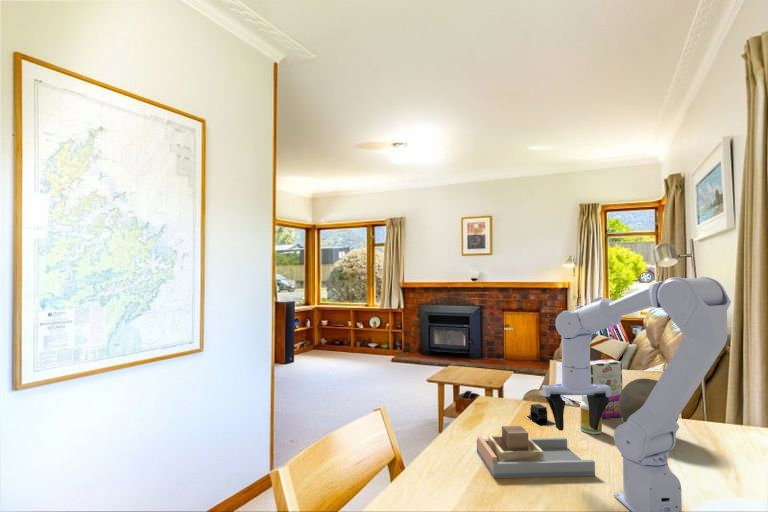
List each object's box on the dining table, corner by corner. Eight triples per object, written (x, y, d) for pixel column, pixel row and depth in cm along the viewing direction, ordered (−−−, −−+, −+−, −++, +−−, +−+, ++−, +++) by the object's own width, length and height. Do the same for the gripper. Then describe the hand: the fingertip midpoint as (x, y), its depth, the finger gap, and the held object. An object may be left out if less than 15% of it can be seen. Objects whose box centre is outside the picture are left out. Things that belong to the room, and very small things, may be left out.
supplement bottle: (604, 435, 117) (603, 398, 118) (582, 433, 118) (582, 397, 119) (598, 428, 122) (598, 393, 123) (578, 426, 124) (577, 391, 124)
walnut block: (528, 460, 98) (528, 432, 98) (508, 460, 97) (508, 433, 98) (521, 451, 102) (520, 425, 102) (502, 452, 102) (501, 426, 102)
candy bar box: (611, 411, 137) (610, 358, 137) (624, 416, 132) (623, 361, 133) (581, 414, 134) (580, 360, 134) (592, 420, 129) (592, 364, 130)
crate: (543, 467, 96) (543, 451, 96) (501, 468, 95) (501, 452, 95) (527, 449, 105) (527, 435, 105) (488, 450, 104) (488, 436, 105)
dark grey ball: (608, 435, 117) (607, 378, 118) (632, 423, 126) (631, 371, 126) (667, 452, 106) (666, 389, 107) (689, 438, 115) (688, 381, 115)
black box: (562, 427, 124) (562, 411, 124) (540, 430, 122) (540, 413, 123) (536, 413, 136) (536, 399, 136) (515, 416, 134) (515, 401, 135)
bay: (595, 475, 94) (594, 456, 94) (493, 478, 93) (493, 459, 93) (565, 449, 108) (565, 433, 108) (476, 451, 106) (476, 435, 106)
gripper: (598, 361, 101) (599, 421, 100) (536, 362, 100) (536, 422, 99) (616, 368, 94) (617, 433, 93) (549, 369, 93) (550, 434, 92)
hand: (576, 428), depth 96 cm, fingers open, 7 cm apart
